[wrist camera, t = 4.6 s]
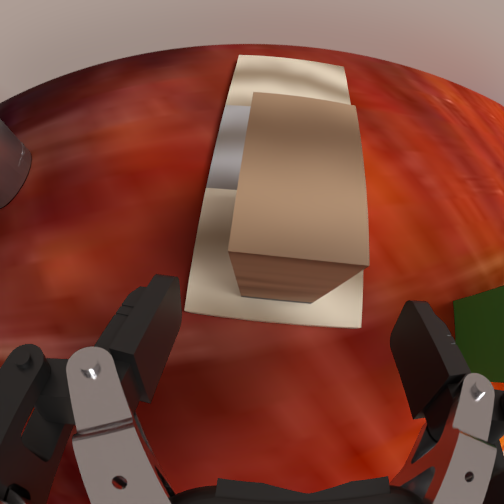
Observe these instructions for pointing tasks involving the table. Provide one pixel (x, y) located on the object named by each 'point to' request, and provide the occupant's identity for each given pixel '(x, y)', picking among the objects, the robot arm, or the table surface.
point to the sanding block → (299, 200)
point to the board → (224, 194)
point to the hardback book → (482, 332)
